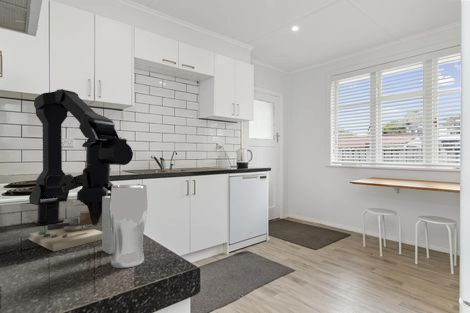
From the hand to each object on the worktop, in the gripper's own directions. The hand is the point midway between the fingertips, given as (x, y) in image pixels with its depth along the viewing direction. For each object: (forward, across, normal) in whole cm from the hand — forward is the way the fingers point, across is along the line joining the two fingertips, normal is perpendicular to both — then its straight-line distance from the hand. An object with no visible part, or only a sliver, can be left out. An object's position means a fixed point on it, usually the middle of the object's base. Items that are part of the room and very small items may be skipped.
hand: (96, 221), depth 70 cm
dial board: (+3, +3, -6) cm, 8 cm away
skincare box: (+3, +15, +7) cm, 17 cm away
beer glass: (+3, +23, +9) cm, 25 cm away
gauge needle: (+1, 0, -5) cm, 5 cm away
